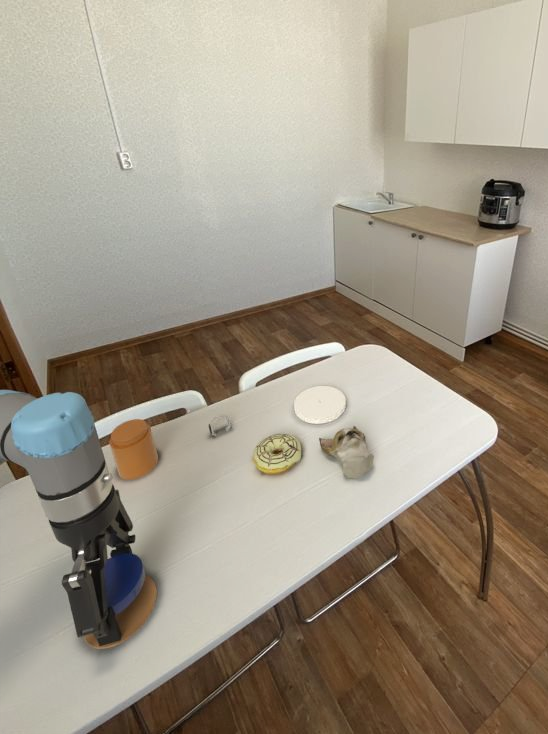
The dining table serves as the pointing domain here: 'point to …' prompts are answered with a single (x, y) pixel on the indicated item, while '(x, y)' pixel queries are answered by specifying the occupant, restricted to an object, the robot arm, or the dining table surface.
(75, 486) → the robot arm
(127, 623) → the wooden coaster
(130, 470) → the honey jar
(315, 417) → the plastic lid
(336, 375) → the dining table surface
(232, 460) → the dining table surface
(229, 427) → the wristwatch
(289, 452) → the decorated donut
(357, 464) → the ceramic sculpture
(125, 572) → the jar lid
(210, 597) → the dining table surface
